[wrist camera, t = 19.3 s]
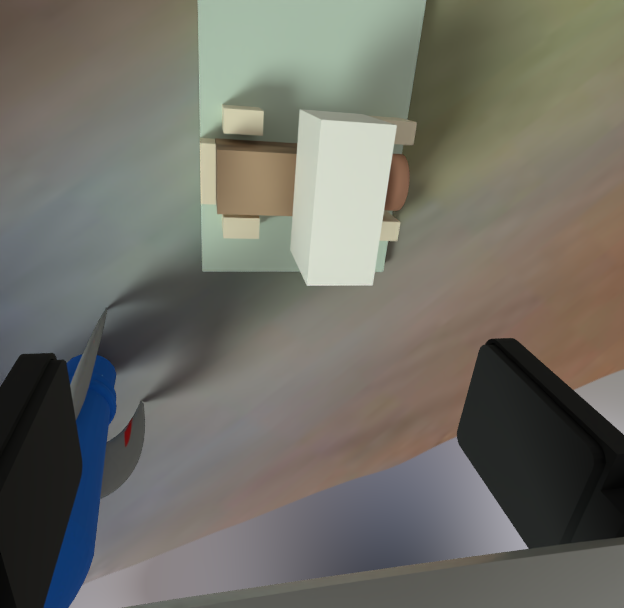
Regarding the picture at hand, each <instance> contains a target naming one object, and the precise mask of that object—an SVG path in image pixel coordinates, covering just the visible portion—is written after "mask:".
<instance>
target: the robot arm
mask: <svg viewBox="0 0 624 608" xmlns="http://www.w3.org/2000/svg"><path fill="white" fill-rule="evenodd" d="M457 439H458V443H459V445H460V447H461V448H462V450H463V451H464V453H465V454H466V456H467V457H468V459H469V460H470V462H471V463H472V465H473V466H474V468H475V469H476V471H477V472H478V474H479V475H480V477H481V478H482V480H483V481H484V483H485V484H486V486H487V487H488V489H489V490H490V492H491V493H492V494H493V496H494V498H495V499H496V500H497V502H498V503H499V505H500V506H501V508H502V509H503V511H504V512H505V514H506V515H507V516H508V518H509V519H510V521H511V523H512V524H513V526H514V527H515V528H516V530H517V532H518V533H519V535H520V536H521V538H522V539H523V541H524V542H525V543H526V545H527V547H528V548H529V549H525V550H517V551H511V552H502V553H495V554H488V555H481V556H472V557H465V558H458V559H451V560H444V561H437V562H429V563H422V564H415V565H408V566H401V567H394V568H386V569H379V570H373V571H366V572H358V573H351V574H344V575H337V576H330V577H323V578H316V579H309V580H302V581H295V582H289V583H282V584H275V585H268V586H261V587H255V588H248V589H241V590H234V591H228V592H221V593H213V594H207V595H200V596H193V597H186V598H179V599H173V600H167V601H160V602H155V603H148V604H142V605H136V606H130V607H124V608H624V435H623V434H622V433H621V432H620V431H619V430H618V429H617V428H615V427H614V426H613V425H612V424H611V423H610V422H609V421H607V420H606V419H605V418H604V417H603V416H602V415H601V414H599V413H598V412H597V411H596V410H595V409H594V408H593V407H592V406H591V405H589V404H588V403H587V402H586V401H585V400H584V399H583V398H581V397H580V396H579V395H578V394H577V393H576V392H575V391H574V390H572V389H571V388H570V387H569V386H568V385H567V384H566V383H565V382H563V381H562V380H561V379H560V378H559V377H558V376H557V375H555V374H554V373H553V372H552V371H551V370H550V369H549V368H548V367H546V366H545V365H544V364H543V363H542V362H541V361H540V360H538V359H537V358H536V357H535V356H534V355H533V354H532V353H531V352H529V351H528V350H527V349H526V348H525V347H524V346H523V345H521V344H520V343H519V342H518V341H517V340H515V339H514V338H501V339H490V340H488V341H487V342H486V344H485V345H483V346H482V347H481V348H480V350H479V353H478V357H477V360H476V364H475V368H474V371H473V375H472V379H471V382H470V386H469V390H468V393H467V397H466V401H465V404H464V408H463V412H462V415H461V419H460V423H459V426H458V430H457ZM81 476H82V455H81V449H80V443H79V437H78V430H77V424H76V418H75V412H74V406H73V400H72V393H71V387H70V381H69V375H68V369H67V364H66V361H65V360H57V359H56V356H55V354H53V353H40V354H22V355H20V356H19V358H18V359H17V361H16V363H15V364H14V366H13V367H12V369H11V371H10V372H9V374H8V375H7V377H6V379H5V380H4V382H3V383H2V385H1V387H0V608H44V604H45V601H46V597H47V594H48V591H49V587H50V584H51V580H52V577H53V573H54V570H55V566H56V563H57V560H58V556H59V553H60V549H61V546H62V542H63V539H64V535H65V532H66V529H67V525H68V522H69V518H70V515H71V511H72V508H73V504H74V501H75V497H76V494H77V491H78V487H79V484H80V480H81Z"/></svg>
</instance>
